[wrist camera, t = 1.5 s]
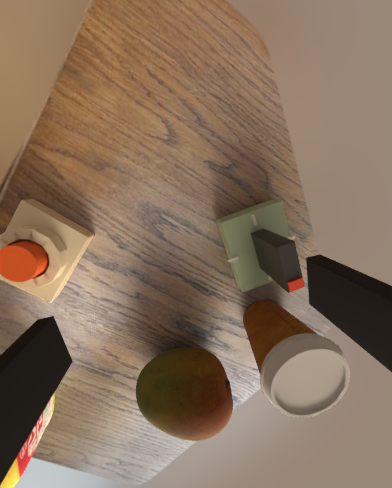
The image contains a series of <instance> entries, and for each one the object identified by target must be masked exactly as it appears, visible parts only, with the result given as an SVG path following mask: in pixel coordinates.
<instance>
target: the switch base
mask: <svg viewBox="0 0 392 488" xmlns="http://www.w3.org/2000/svg"><path fill="white" fill-rule="evenodd" d="M94 235H95V234H94V233H92V232H90V231H89V230H87V229H85V228H83V227H82V226H80V225H78V224H76V223H75V222H73V221H71V220H69V219H68V218H66V217H64V216H62V215H61V214H59V213H57V212H55V211H54V210H52V209H50V208H48V207H47V206H45V205H43V204H41V203H40V202H38V201H36V200H34V199H27V200H21V202H20V204H19V206H18V208H17V210H16V212H15V213H14V215H13V217H12V219H11V221H10V223H9V225H8V227H7V229H6V231H5V233H3V234H1V235H0V250H1V249H2V248H4V247H6V246H9V245H12V244H15V243H18V242H21V241H31V242H34V243H36V244H38V245H40V246H41V247H42V248H43V249H44V250H45V252H46V254H47V256H48V264H47V267H46V268H45V270H44V271H43V272H41V273H40V274H38V275H36V276H35V277H33V278H32V279H30V280H28V281H25V282H13V281H10V280H8V279H6V278H4V277H3V276H2V275H1V274H0V280H2V281H4V282H7V283H9V284H11V285H13V286H15V287H17V288H19V289H21V290H24V291H26V292H28V293H30V294H32V295H34V296H36V297H38V298H40V299H43V300H45V301H47V302H49V303H51V302H52V301H53V300H54V299H55V298H56V297H57V296H58V295H59V294H60V292H61V291H62V289H63V287H64V286H65V284H66V282H67V281H68V279H69V277H70V276H71V274H72V272H73V270H74V269H75V267H76V265H77V264H78V262H79V260H80V259H81V257H82V255H83V254H84V252H85V250H86V248H87V247H88V245H89V243H90V242H91V240H92V238H93V237H94Z"/></svg>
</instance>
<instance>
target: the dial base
mask: <svg viewBox="0 0 392 488" xmlns="http://www.w3.org/2000/svg"><path fill="white" fill-rule="evenodd" d="M216 221H217V224H218V227H219V231H220V234H221V237H222V240H223V243H224V246H225V249H226V252H227V256H228V259H229V260H228V263H229V262H230V265H231V268H232V271H233V274H234V277H235V281H236V283H237V285H238V286H239V288H240V289H241V291H242V292H246V291H249V290H252V289H254V288H257V287H260V286H262V285H265V284H268V283H271V282H273V281H274V280H273V279H272V278H271V277H270V276H269V275H267V274H266V273H265V272H264V271H263V270H262V269H261V268H260V265H259V262H258V258H257V255H256V251H255V248H254V244H253V240H252V237H251V233H252V232H255V231H258V230H261V229H266V230H269V231H271V232H273V233H276V234H278V235H281V236H283V237H286V238H288V239H290V240H292V239H295V238H296V235H294V236H291V237H290V233H289V228H288V224H287V220H286V215H285V211H284V207H283V202H282V201H281V200H269V201H266V202H263V203H260V204H258V205H255V206H252V207H249V208H246V209H244V210H241V211H238V212H235V213H233V214H230V215H227V216H224V217H222V218H219V219H216Z"/></svg>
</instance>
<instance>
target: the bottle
mask: <svg viewBox="0 0 392 488" xmlns="http://www.w3.org/2000/svg"><path fill="white" fill-rule="evenodd" d="M54 403H55V392H54V394H53V396H52V397H51V399H50V401H49V403H48V404H47V406H46V408H45V410H44V411H43V413H42V415H41V416H40V418H39V420H38V422H37V423H36V425H35V427H34V428H33V430H32V432H31V434H30V435H29V437H28V439H27V440H26V442H25V444H24V446H23V447H22V449H21V451H20V452H19V454H18V456H17V458H16V459H15V461H14V463H13V465H12V466H11V468H10V470H9V471H8V473H7V475H6V477H5V478H4V480H3V482H2V483H1V485H0V488H13V487H14V485H15V484H16V483H17V482H18V481H19V479H20V477H21V476H22V474H23V472H24V470H25V468H26V467H27V464H28V463H29V461H30V459H31V457H32V455H33V453H34V450H35V448H36V446H37V444H38V442H39V440H40V438H41V436H42V434H43V432H44V429H45V428H46V426H47V425H48V423H49V421H50V419H51V417H52V414H53V410H54Z"/></svg>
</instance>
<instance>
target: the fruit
mask: <svg viewBox="0 0 392 488" xmlns="http://www.w3.org/2000/svg"><path fill="white" fill-rule="evenodd" d="M136 398H137V403H138V406H139V409H140V411H141V413H142V414H143V416H144V417H145V418H146V419H147V420H148V421H149V422H150V423H151V424H153V425H154V426H155V427H157V428H158V429H160V430H162V431H164V432H165V433H167V434H170V435H172V436H175V437H177V438H180V439H184V440H192V441H198V440H204V439H207V438H210V437H212V436H214V435H216V434H217V433H219V432H220V431H221V430H222V429H223V428H224V427H225V426H226V425H227V423H228V422H229V419H230V417H231V414H232V410H233V400H232V393H231V388H230V382H229V380H228V378H227V375H226V373H225V370H224V368H223V366H222V364H221V362H220V361H219V359H218V358H217V357H216V356H215V355H214V354H212V353H210V352H208V351H206V350H204V349H201V348H197V347H179V348H174V349H171V350H168V351H166V352H164V353H162V354H160V355H158V356H157V357H155V358H154V359H153V360H151V361H150V362H149V363H148V364H147V365H146V366H145V367H144V368H143V370H142V371H141V373H140V375H139V377H138V380H137V385H136Z"/></svg>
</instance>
